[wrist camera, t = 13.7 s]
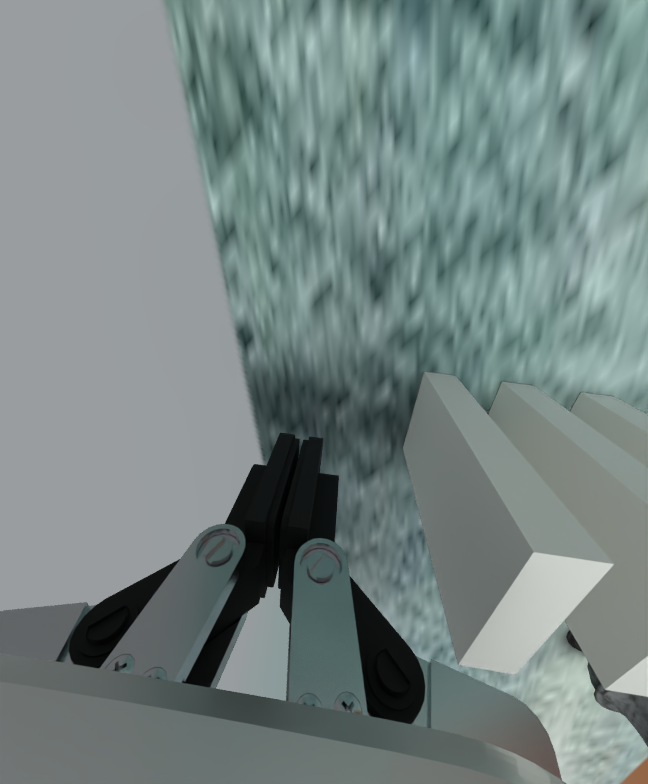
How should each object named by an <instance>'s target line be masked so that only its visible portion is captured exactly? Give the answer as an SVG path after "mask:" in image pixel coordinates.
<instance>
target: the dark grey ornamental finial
mask: <svg viewBox="0 0 648 784" xmlns="http://www.w3.org/2000/svg"><path fill="white" fill-rule="evenodd" d="M567 639H568V642H569V644H570V645H571V646H572V647H574V648H576V649H578V650H580V651H582V650H581V648H580V646H579V644H578V643H577V641H576V639H575V638H574V636H573V634H572V632H571V631H569V632H568V634H567ZM588 670H589V675H590V679H591V683H592V685H593V686H594V688H595V692H594V696H595V699H596V701H597V702H598V703H599V704H600V705H601V706H602V707H604V708H606V709H609V710H612V711H615V712H619V713H621V714H623V715H624V716H626V718H627V719H628V720H629V721H630V722H631V724H632V725H633V726H634V727H635V729H636V730H637V731H638V733H639V734H640V736H641V737H642V738H643V740H644V742H645V743H646V745H647V747H648V697H646V696H640V695H634V694H628V693H622V692H616V691H610V690H605V689H604V687H603V686H602V684H601V682H600V681H599V679H598V677H597V675H596V674H595V672H594V670H593V669H592V667H591V665H590V663H589V662H588Z"/></svg>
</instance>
